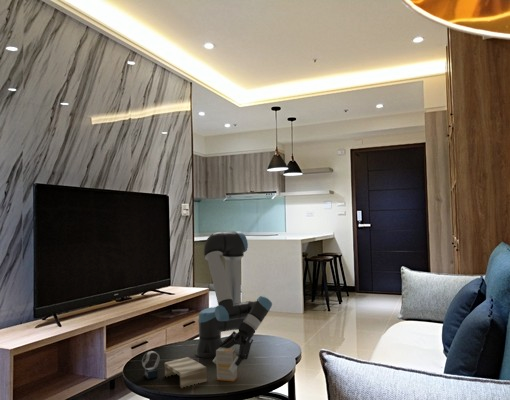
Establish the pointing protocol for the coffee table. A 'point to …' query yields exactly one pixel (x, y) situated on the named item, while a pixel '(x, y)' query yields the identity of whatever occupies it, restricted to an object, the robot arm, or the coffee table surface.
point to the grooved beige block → (186, 371)
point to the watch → (150, 371)
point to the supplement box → (225, 364)
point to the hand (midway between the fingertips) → (222, 367)
